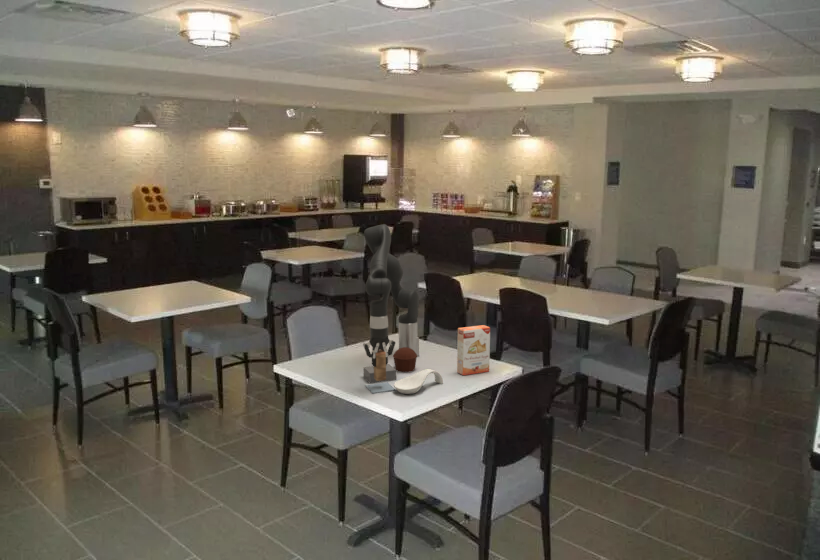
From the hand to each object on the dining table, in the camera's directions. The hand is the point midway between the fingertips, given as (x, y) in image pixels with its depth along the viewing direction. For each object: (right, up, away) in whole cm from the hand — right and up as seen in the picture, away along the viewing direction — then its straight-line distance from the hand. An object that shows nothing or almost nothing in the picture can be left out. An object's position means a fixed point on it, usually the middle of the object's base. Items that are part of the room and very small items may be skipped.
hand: (379, 365), depth 274 cm
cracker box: (+41, -6, +22) cm, 47 cm away
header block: (-1, -8, +15) cm, 17 cm away
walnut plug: (0, -6, +1) cm, 6 cm away
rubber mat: (0, -10, +2) cm, 10 cm away
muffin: (+10, -6, +28) cm, 30 cm away
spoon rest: (+16, -10, +1) cm, 19 cm away
